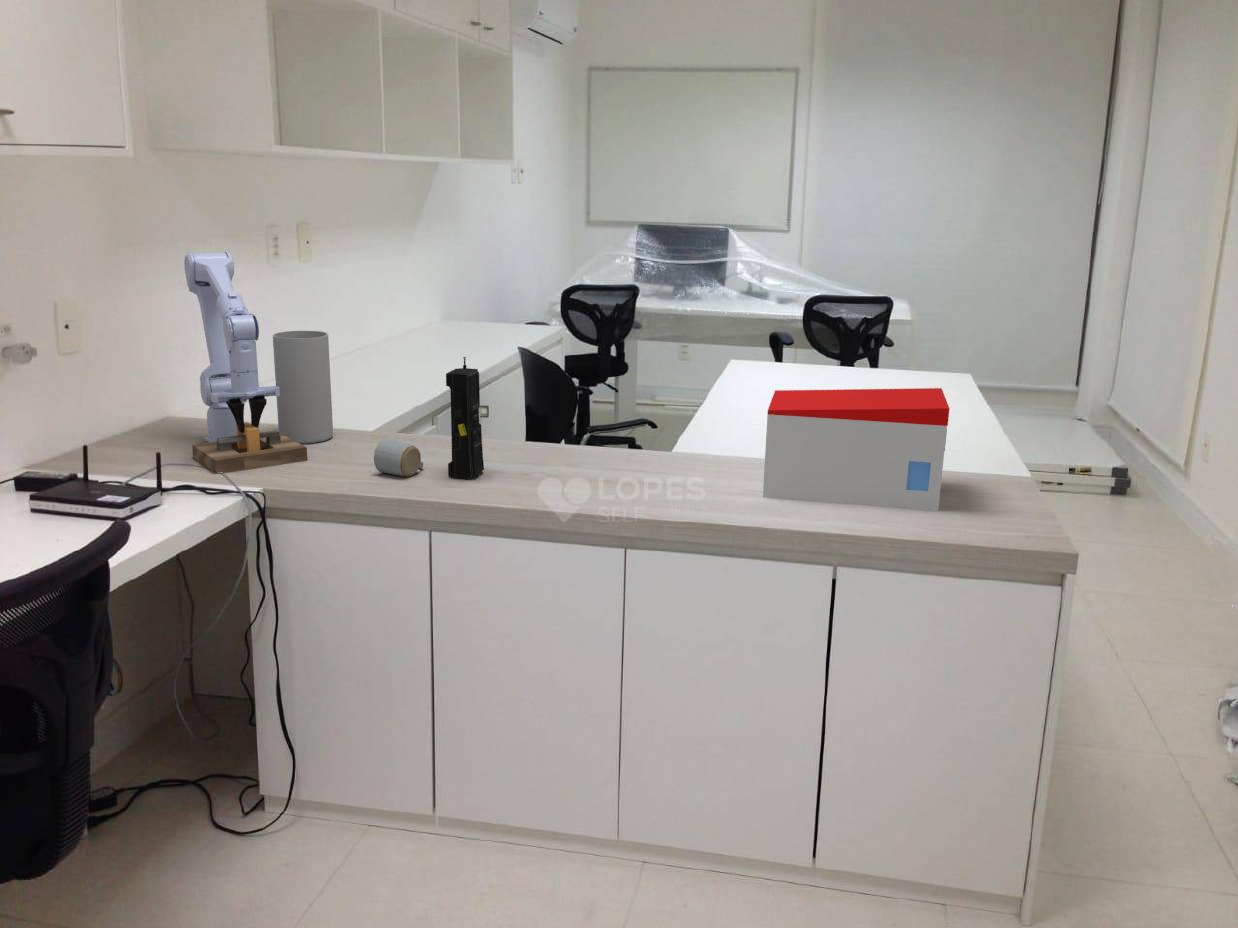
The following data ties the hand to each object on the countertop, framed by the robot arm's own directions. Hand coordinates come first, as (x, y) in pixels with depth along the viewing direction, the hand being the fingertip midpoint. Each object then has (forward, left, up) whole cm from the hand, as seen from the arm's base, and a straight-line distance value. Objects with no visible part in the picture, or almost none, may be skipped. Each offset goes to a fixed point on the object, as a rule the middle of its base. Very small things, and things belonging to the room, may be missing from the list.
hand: (248, 431), depth 242 cm
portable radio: (+38, +33, -7) cm, 51 cm away
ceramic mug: (+28, +23, -7) cm, 37 cm away
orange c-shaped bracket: (0, 0, -4) cm, 5 cm away
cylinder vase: (-11, +18, -7) cm, 22 cm away
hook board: (0, 0, -6) cm, 6 cm away
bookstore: (+92, +94, -7) cm, 132 cm away
